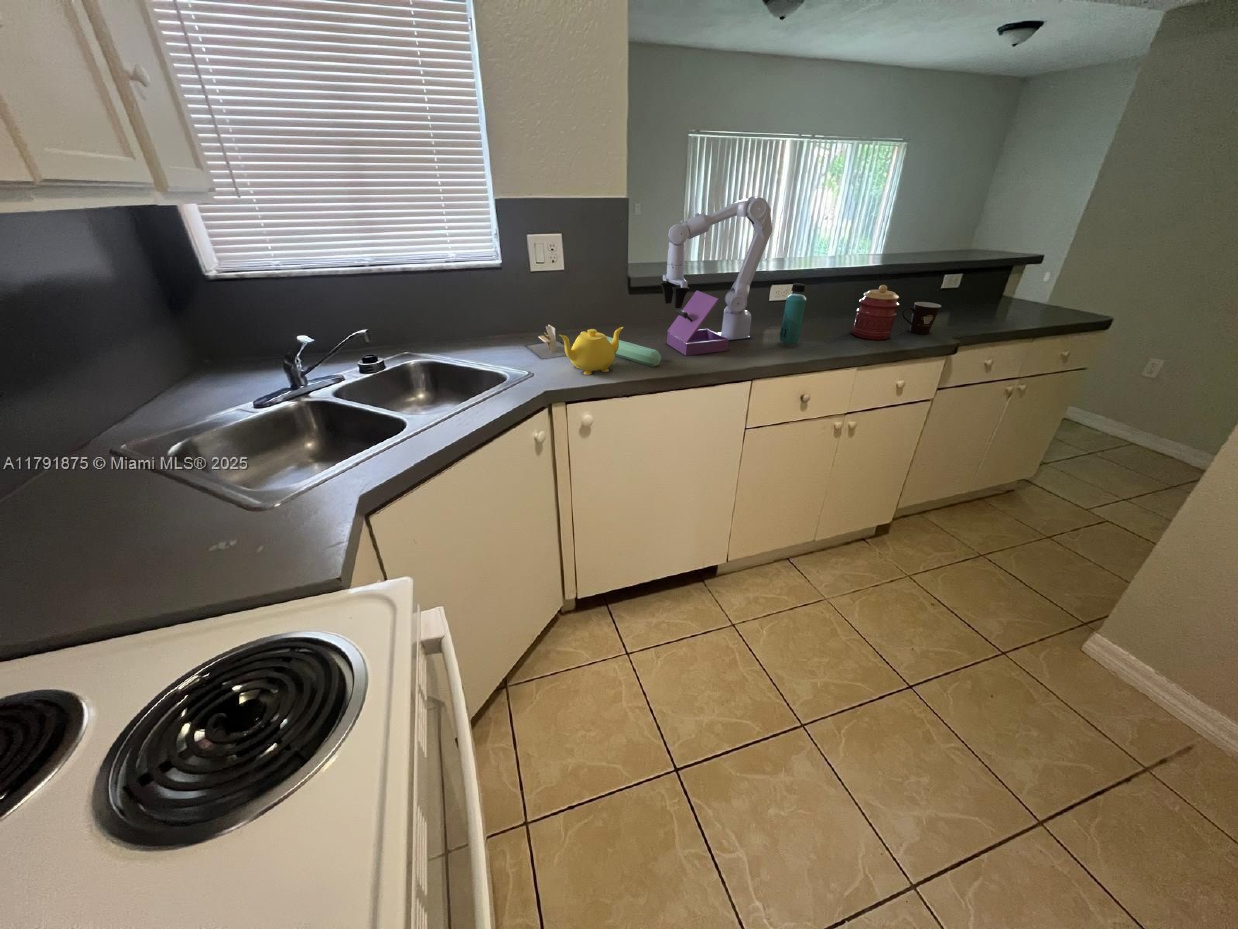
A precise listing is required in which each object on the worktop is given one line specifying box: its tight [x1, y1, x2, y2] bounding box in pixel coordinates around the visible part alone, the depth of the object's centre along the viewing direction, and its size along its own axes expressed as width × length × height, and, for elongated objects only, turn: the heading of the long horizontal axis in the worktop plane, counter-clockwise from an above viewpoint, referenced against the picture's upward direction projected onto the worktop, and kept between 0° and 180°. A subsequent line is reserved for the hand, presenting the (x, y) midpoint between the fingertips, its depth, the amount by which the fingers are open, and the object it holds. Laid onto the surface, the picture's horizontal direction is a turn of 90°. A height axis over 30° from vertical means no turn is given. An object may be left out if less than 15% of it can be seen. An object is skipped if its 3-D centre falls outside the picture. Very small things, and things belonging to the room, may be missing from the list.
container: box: [605, 335, 662, 368], centre depth 151 cm, size 6×6×25 cm
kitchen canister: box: [851, 284, 901, 341], centre depth 174 cm, size 13×13×18 cm
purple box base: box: [666, 328, 730, 356], centre depth 162 cm, size 16×14×4 cm
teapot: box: [558, 326, 624, 376], centre depth 141 cm, size 20×15×12 cm
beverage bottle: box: [779, 283, 807, 344], centre depth 161 cm, size 6×7×20 cm
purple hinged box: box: [667, 290, 720, 343], centre depth 155 cm, size 16×14×5 cm
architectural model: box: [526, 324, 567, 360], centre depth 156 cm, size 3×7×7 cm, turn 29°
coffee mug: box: [901, 301, 942, 335], centre depth 182 cm, size 12×9×10 cm
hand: (673, 305), depth 170 cm, fingers open, 7 cm apart
